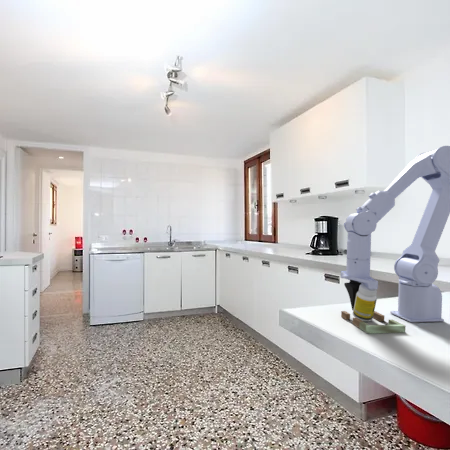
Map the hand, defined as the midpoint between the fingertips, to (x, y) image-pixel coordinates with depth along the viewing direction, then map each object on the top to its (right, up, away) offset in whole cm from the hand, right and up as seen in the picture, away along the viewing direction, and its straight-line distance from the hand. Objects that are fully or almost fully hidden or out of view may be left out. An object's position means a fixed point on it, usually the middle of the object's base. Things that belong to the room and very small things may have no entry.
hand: (356, 310), depth 83 cm
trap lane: (+1, -2, -6) cm, 6 cm away
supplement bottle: (0, -1, -2) cm, 3 cm away
